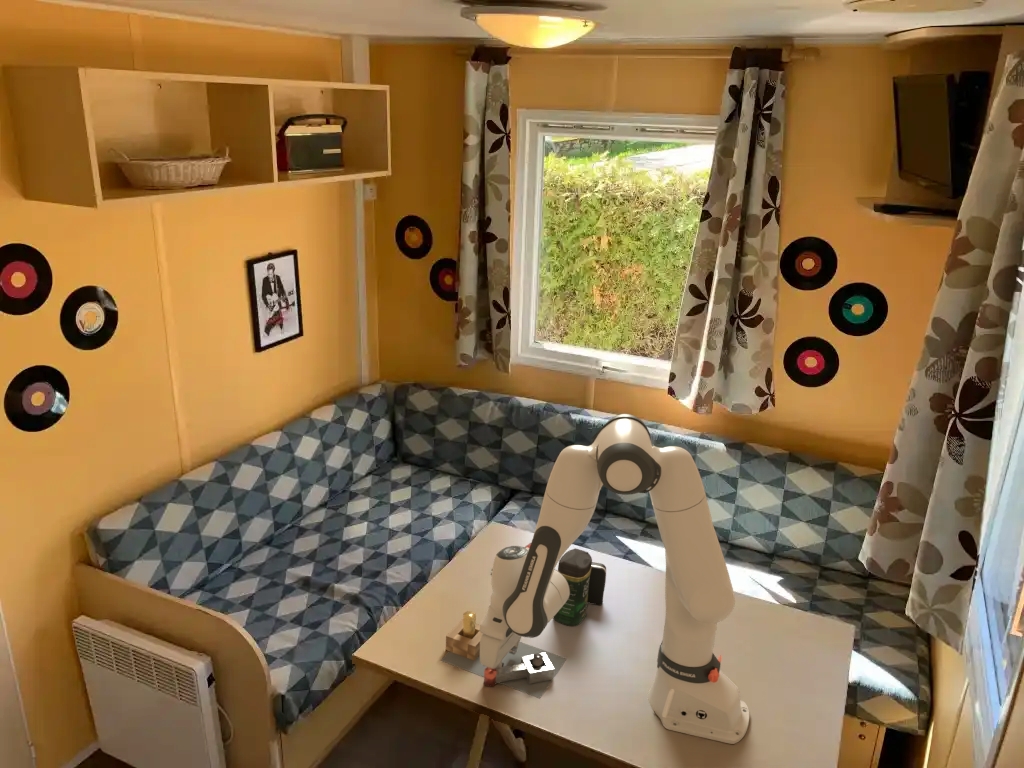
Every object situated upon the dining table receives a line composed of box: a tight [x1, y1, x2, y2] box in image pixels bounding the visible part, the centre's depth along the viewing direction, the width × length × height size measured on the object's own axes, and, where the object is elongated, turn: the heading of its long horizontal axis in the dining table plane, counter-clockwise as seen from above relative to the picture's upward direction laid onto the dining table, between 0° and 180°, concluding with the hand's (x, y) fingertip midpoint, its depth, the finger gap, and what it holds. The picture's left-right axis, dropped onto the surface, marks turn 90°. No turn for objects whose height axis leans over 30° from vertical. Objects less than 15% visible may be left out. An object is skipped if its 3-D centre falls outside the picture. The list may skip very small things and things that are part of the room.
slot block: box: [445, 618, 482, 661], centre depth 193 cm, size 8×8×4 cm
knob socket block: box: [483, 653, 555, 687], centre depth 183 cm, size 16×6×3 cm, turn 109°
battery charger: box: [587, 561, 607, 606], centre depth 214 cm, size 7×4×11 cm, turn 79°
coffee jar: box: [553, 548, 593, 627], centre depth 205 cm, size 10×8×19 cm
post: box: [532, 653, 543, 669], centre depth 184 cm, size 2×2×5 cm
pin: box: [462, 610, 477, 639], centre depth 192 cm, size 3×3×9 cm
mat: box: [440, 641, 568, 699], centre depth 189 cm, size 26×16×1 cm, turn 64°
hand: (506, 661), depth 187 cm, fingers open, 6 cm apart
